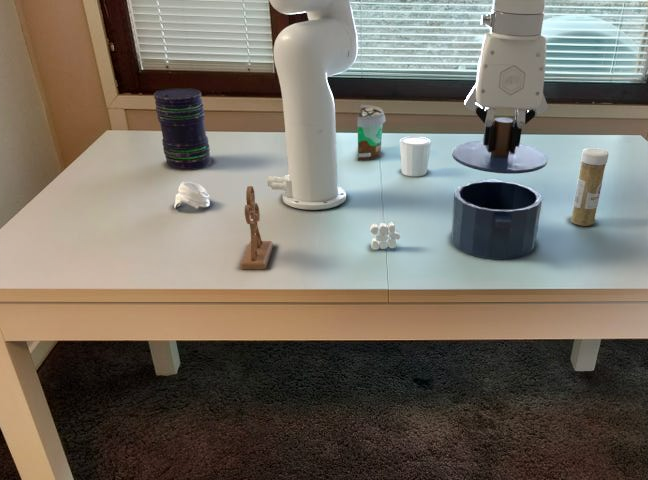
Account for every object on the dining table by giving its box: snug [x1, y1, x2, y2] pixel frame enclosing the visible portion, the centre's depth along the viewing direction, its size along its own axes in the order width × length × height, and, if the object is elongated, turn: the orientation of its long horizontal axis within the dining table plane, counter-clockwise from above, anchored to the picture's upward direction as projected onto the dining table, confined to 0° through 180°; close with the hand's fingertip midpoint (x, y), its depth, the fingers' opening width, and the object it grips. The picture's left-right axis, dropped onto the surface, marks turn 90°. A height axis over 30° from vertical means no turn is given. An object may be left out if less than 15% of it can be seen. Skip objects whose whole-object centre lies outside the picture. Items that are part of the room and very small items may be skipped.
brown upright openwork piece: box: [240, 185, 274, 270], centre depth 104 cm, size 9×4×12 cm, turn 1°
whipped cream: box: [173, 181, 211, 210], centre depth 124 cm, size 8×7×5 cm
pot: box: [451, 178, 543, 260], centre depth 112 cm, size 15×20×8 cm
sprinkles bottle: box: [570, 147, 609, 227], centre depth 119 cm, size 5×5×14 cm
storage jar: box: [153, 87, 212, 171], centre depth 142 cm, size 10×10×15 cm
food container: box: [356, 104, 387, 161], centre depth 151 cm, size 12×6×10 cm, turn 179°
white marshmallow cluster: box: [369, 221, 401, 251], centre depth 110 cm, size 5×1×4 cm, turn 94°
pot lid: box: [451, 117, 549, 175], centre depth 105 cm, size 16×16×7 cm
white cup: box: [399, 136, 432, 177], centre depth 142 cm, size 7×7×7 cm
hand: (500, 149), depth 105 cm, fingers closed on pot lid, 3 cm apart
